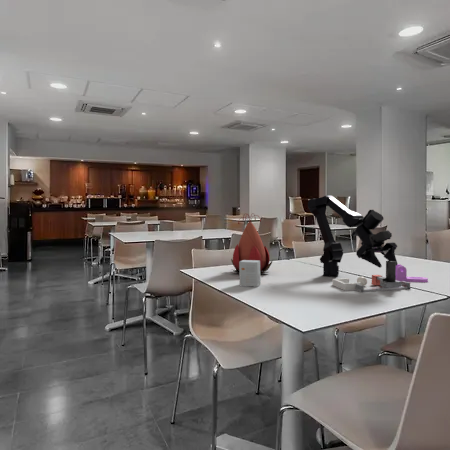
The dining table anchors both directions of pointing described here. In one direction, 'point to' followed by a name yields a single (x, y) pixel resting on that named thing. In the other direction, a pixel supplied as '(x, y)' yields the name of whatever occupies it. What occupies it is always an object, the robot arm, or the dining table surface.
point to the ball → (362, 281)
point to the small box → (249, 273)
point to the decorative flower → (251, 248)
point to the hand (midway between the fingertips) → (388, 266)
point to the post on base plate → (387, 276)
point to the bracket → (402, 274)
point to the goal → (344, 284)
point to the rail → (366, 289)
